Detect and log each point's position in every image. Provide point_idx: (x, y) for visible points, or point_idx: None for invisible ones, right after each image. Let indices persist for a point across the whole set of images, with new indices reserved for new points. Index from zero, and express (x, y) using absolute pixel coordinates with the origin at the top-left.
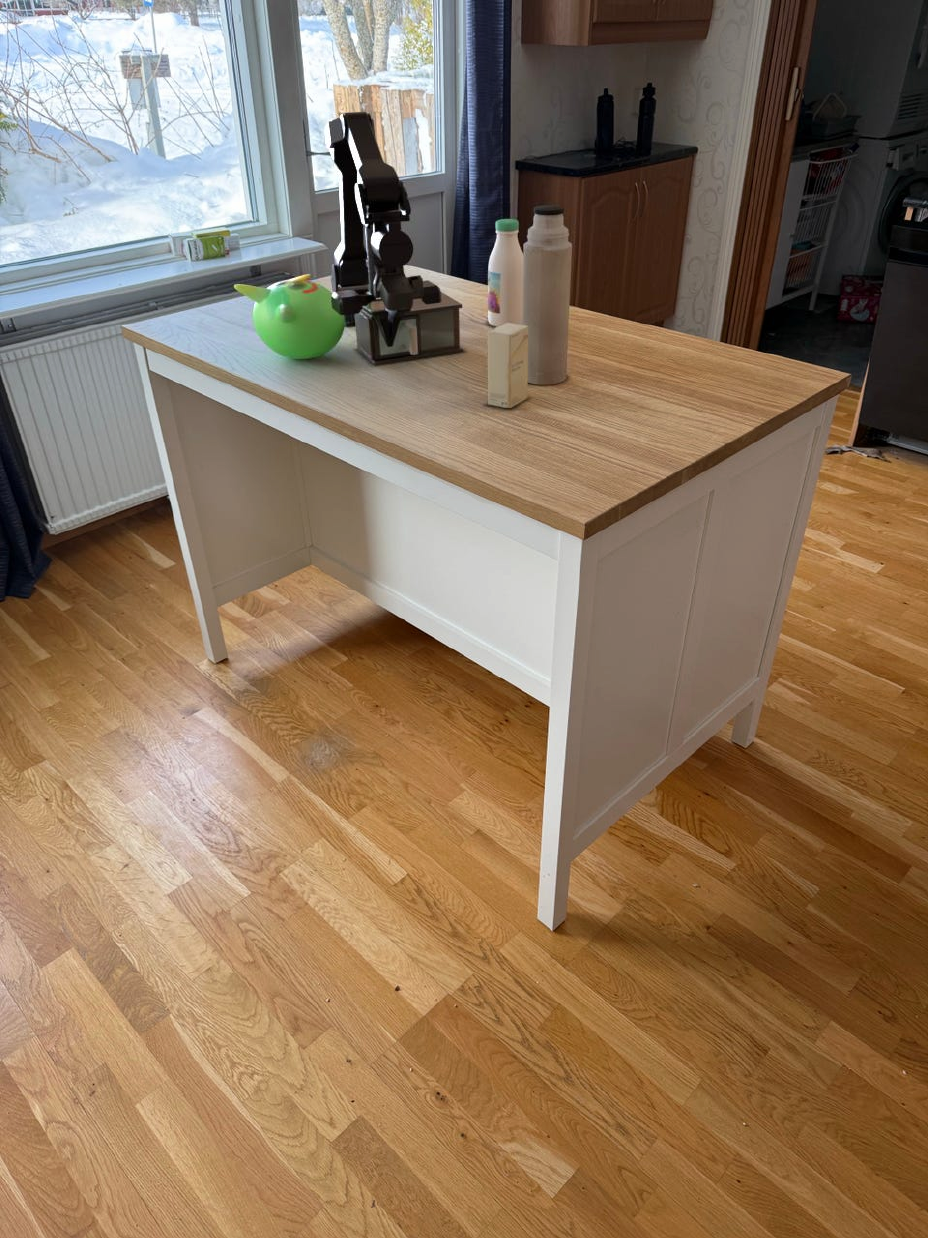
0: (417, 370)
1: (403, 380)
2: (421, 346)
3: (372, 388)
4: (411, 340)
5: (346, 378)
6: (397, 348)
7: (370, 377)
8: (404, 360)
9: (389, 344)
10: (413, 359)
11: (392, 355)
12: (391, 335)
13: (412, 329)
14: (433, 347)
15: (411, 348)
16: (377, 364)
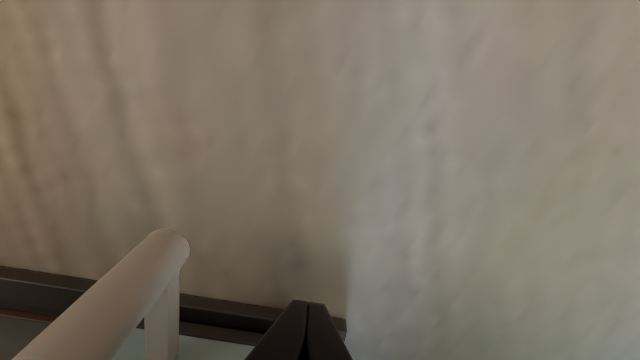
0: (208, 160)
1: (341, 64)
2: None
3: (548, 47)
4: (139, 289)
5: (542, 254)
6: (214, 357)
7: (449, 204)
8: (208, 299)
9: (318, 310)
10: None
11: (252, 335)
12: (296, 355)
13: (62, 353)
14: (34, 324)
15: (170, 259)
16: (333, 319)
